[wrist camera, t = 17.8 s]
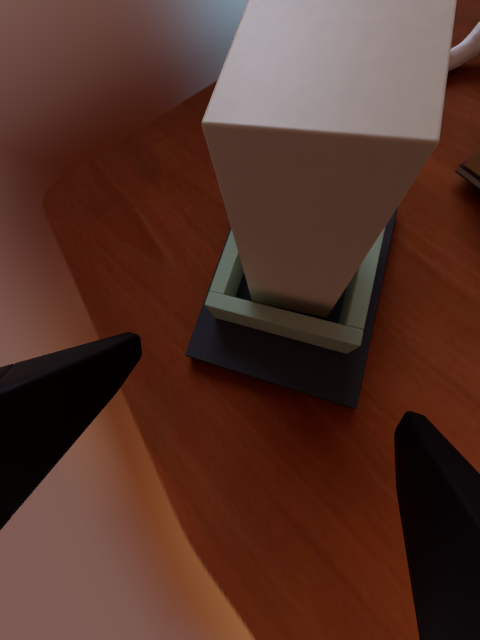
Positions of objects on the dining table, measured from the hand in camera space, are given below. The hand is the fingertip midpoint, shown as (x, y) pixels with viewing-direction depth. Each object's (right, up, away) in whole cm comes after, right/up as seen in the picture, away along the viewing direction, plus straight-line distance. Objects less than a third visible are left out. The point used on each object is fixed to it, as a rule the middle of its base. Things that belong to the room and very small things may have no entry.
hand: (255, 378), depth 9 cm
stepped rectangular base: (+4, +5, +12) cm, 13 cm away
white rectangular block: (+4, +5, +11) cm, 12 cm away
